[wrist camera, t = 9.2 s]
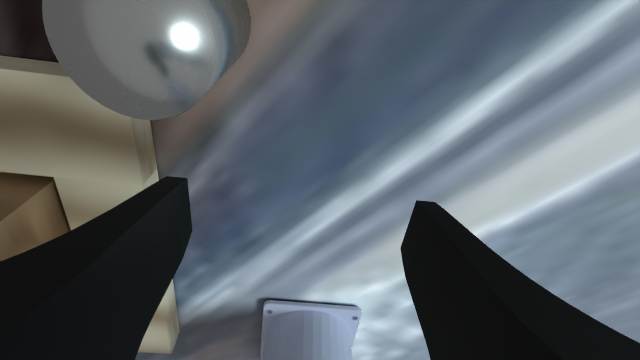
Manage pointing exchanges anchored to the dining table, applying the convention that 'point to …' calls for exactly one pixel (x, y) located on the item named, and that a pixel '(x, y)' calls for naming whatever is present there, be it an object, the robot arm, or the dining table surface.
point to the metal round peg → (146, 49)
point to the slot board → (79, 156)
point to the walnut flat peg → (29, 213)
